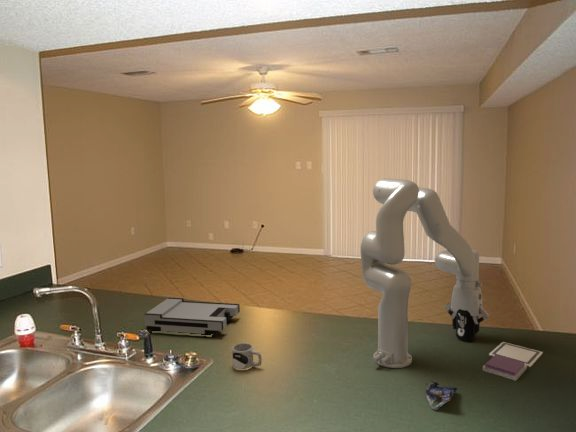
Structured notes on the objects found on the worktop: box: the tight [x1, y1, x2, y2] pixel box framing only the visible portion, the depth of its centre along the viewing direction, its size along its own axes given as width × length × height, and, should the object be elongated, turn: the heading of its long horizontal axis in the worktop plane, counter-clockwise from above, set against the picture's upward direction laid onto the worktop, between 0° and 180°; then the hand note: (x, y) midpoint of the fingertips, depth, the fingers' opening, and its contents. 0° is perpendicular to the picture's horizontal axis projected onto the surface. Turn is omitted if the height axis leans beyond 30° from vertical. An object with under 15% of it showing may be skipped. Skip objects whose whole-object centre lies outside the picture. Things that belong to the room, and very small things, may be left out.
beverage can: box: [455, 308, 476, 343], centre depth 169 cm, size 7×7×12 cm
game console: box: [143, 297, 241, 335], centre depth 187 cm, size 21×32×8 cm, turn 77°
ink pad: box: [482, 355, 528, 382], centre depth 146 cm, size 10×10×2 cm
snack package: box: [424, 380, 458, 411], centre depth 130 cm, size 12×6×12 cm
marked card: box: [488, 341, 544, 368], centre depth 156 cm, size 13×13×1 cm
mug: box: [231, 342, 263, 369], centre depth 152 cm, size 10×7×7 cm, turn 70°
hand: (465, 330), depth 169 cm, fingers closed on beverage can, 6 cm apart
